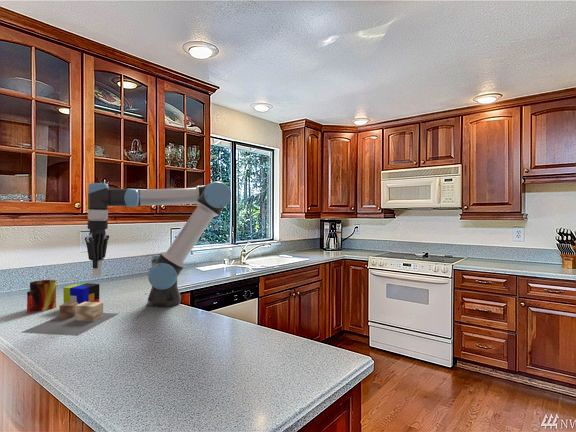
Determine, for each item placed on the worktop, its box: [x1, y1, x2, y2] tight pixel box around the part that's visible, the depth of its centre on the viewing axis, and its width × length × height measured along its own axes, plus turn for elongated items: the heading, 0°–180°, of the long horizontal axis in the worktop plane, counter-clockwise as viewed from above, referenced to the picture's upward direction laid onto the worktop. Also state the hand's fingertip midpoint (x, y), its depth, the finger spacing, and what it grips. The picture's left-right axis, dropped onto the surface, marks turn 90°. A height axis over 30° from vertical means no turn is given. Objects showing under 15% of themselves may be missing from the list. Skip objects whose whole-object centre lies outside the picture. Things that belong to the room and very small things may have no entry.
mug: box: [26, 279, 57, 314], centre depth 159 cm, size 10×14×12 cm
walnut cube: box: [58, 302, 78, 318], centre depth 150 cm, size 5×5×5 cm
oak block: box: [75, 301, 104, 321], centre depth 147 cm, size 8×6×6 cm
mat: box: [21, 312, 119, 337], centre depth 143 cm, size 22×26×1 cm
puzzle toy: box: [63, 282, 100, 304], centre depth 163 cm, size 10×10×10 cm
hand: (96, 275), depth 152 cm, fingers closed
